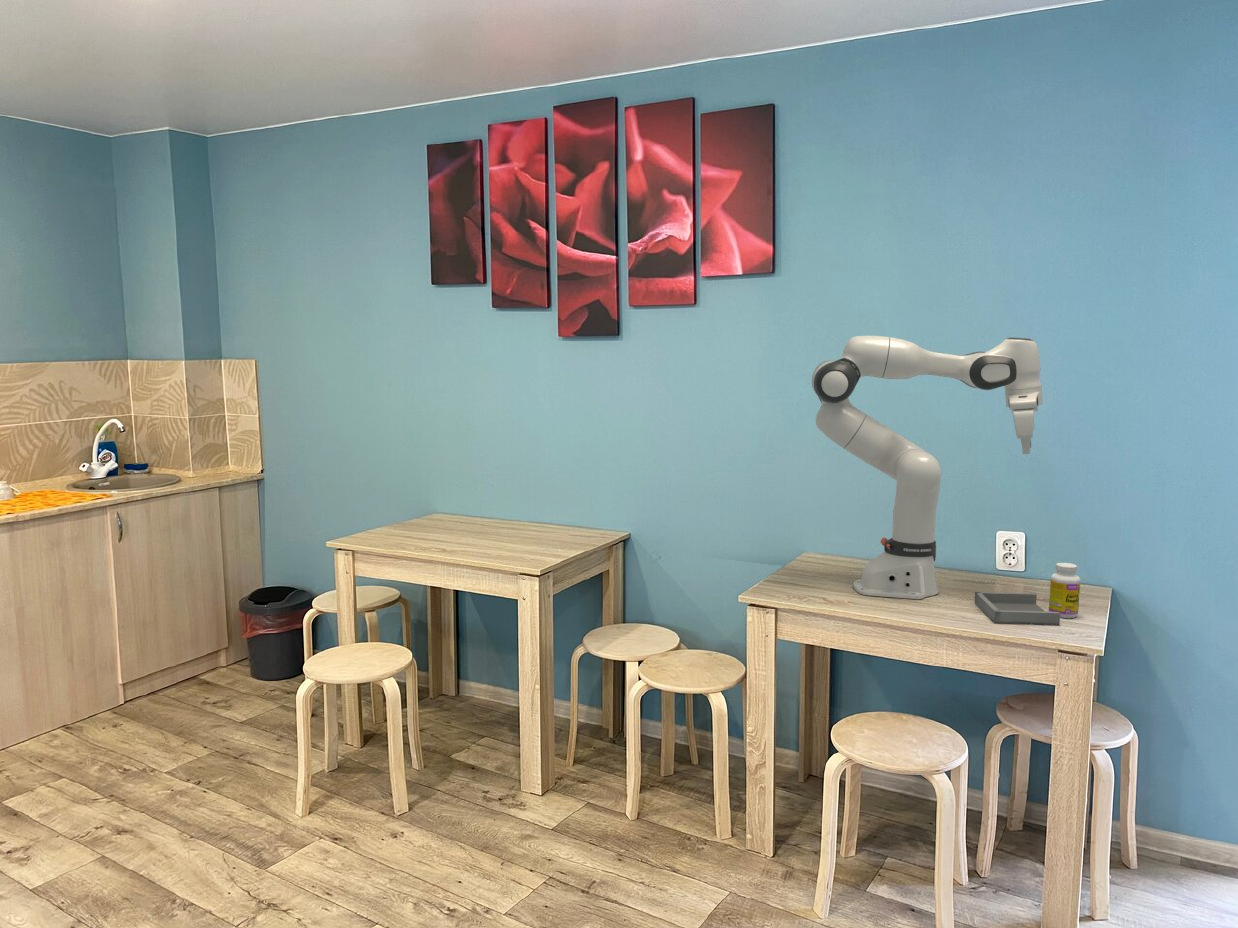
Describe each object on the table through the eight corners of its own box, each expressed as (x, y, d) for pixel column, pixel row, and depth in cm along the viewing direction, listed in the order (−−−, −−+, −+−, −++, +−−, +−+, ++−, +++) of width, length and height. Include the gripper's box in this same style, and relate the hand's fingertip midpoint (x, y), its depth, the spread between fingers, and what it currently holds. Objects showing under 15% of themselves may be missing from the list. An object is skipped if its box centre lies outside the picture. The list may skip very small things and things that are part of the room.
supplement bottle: (1064, 620, 228) (1067, 569, 226) (1042, 613, 234) (1045, 563, 232) (1084, 617, 230) (1087, 566, 229) (1061, 610, 236) (1064, 560, 235)
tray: (994, 623, 225) (995, 611, 225) (974, 602, 243) (975, 591, 242) (1059, 625, 223) (1060, 613, 223) (1034, 604, 241) (1035, 593, 241)
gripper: (1012, 396, 254) (1015, 446, 255) (1009, 403, 236) (1012, 457, 237) (1037, 394, 251) (1040, 444, 253) (1036, 401, 233) (1039, 456, 234)
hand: (1027, 451), depth 245 cm, fingers open, 8 cm apart
